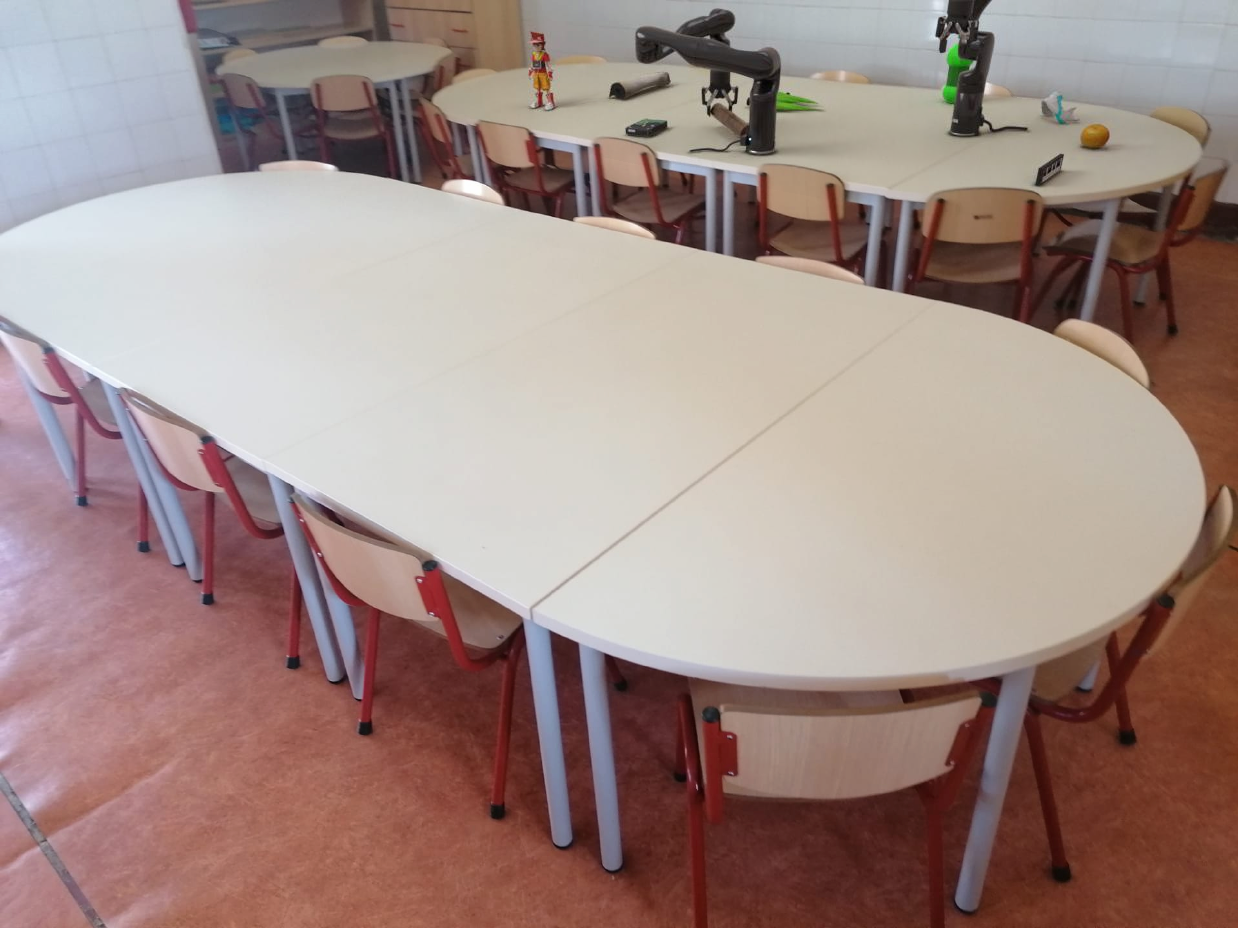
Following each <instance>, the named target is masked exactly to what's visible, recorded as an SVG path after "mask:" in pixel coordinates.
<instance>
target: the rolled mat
mask: <svg viewBox="0 0 1238 928" xmlns="http://www.w3.org/2000/svg"><path fill="white" fill-rule="evenodd" d="M671 83H672V81H671V77H670V74H669V72H668V71H658V72H654V73H649V74H645V75H640V76H637V77H633V78H628V79H623V80H620V81H616V82H613V83H612V84H611V85H610V89H609V95H608V97H609V98H611V97H616V99H620V100H622V101H623V100H626V99H627V98H629V97H630V96H632V95H635V94H636V93H638V92H640V91H643V90H644V89H647V88H650V87H655V86H658V87H659V86H661V87H665V86H669V85H670V84H671Z"/></svg>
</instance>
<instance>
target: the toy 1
mask: <svg viewBox="0 0 1238 928" xmlns="http://www.w3.org/2000/svg"><path fill="white" fill-rule="evenodd" d="M529 33H530V35H531V36H528V37H527V38H528V39H529V40H528V41H527V43H529V44H530V43H531V44H532V48H533V50H534V51H533V52H532V55H531V58H530V59H531V63H530V66H528V74H527V75H528V76H527V77H528V79H529V80H531V75H532V74H533V84H532V85H533V86H532V87H533V88H534V89H535V90H536V92H534V95H535V97H536V100H535V101H533V102H531V105H530V108H531V109H535V108H538V107H542V106H544V101H543V100H544V99H543V95H544V92H546V94H545V97H546V99H547V103H546V104H545V106H544V110H546V111H549V110H553V109H554V107H555V106H556V105H555V99H554V92H551V91H550V90H551V86H552V84H551V82H552V81H553V80H554V77H553V73H554V71H555V70H554V69H552V68H551V63H550V61H551V59H550V58H551V57H550V54H549V53H548V52H547V50H546V48H545V46H546V44H547V41H545V35H544V33H543V32H542V33H539V32H535V31H529Z"/></svg>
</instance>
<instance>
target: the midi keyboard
mask: <svg viewBox="0 0 1238 928" xmlns="http://www.w3.org/2000/svg"><path fill="white" fill-rule="evenodd" d="M1064 157H1065V153H1059V154H1058V155H1056V156H1055V157H1052V159H1051V160H1049V161H1047V162H1045V164H1042V165H1041V166H1039V167H1038V169H1037V175H1036V179H1035V186H1040V185H1042V183H1044V182H1045V181H1047V180H1048V179H1049V178H1051V177H1052V176H1054V175H1055V174H1056V173H1058V172H1060V171H1061V170H1062V165H1063V161H1064Z"/></svg>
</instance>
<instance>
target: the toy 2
mask: <svg viewBox="0 0 1238 928" xmlns="http://www.w3.org/2000/svg"><path fill="white" fill-rule="evenodd" d="M745 103H746V106H748V107H749V105H750V96H749V97H747V99H746V102H745ZM799 103H803V104H804V103H805V104H818V105H819V104H820V103H819V102H817V101H815V100H812V99H809V98H805V97H801V96H797V95H793V94H791V93H790V92H785V93H784V91H783V92H782V91H778V94H777V110H780V111H781V110H782V111H783V110H784V111H821V108H815V107H810V106H804V105H800V104H799Z"/></svg>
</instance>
